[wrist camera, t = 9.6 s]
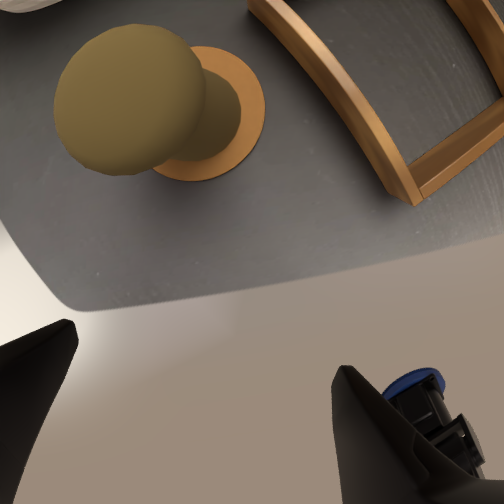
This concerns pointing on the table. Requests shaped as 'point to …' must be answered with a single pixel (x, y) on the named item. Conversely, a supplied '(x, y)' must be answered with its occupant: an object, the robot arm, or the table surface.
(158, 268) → the table surface
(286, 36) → the wooden frame
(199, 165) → the coaster
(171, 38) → the pepper shaker
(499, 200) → the table surface
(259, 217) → the table surface
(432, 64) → the table surface
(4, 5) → the plate stack
